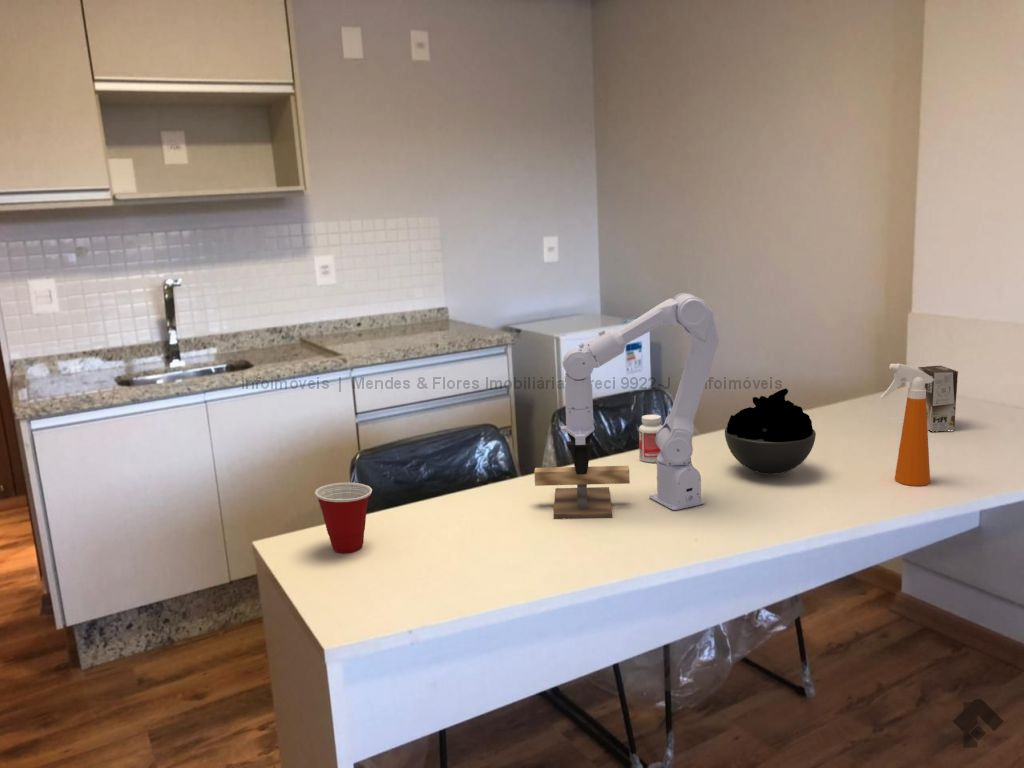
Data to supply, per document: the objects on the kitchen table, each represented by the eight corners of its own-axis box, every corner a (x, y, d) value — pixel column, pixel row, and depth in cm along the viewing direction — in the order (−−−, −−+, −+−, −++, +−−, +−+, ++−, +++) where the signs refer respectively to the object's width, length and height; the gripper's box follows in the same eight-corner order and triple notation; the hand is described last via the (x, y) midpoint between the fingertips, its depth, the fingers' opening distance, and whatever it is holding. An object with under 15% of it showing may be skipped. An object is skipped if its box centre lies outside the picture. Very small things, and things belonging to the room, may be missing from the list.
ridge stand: (612, 517, 168) (611, 494, 167) (553, 518, 169) (552, 495, 168) (609, 491, 184) (608, 469, 183) (555, 492, 185) (554, 471, 184)
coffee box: (955, 431, 215) (959, 371, 212) (930, 432, 215) (934, 372, 212) (938, 422, 224) (941, 364, 221) (914, 423, 224) (917, 365, 221)
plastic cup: (380, 553, 157) (375, 493, 154) (322, 562, 154) (316, 502, 151) (373, 533, 167) (368, 476, 164) (319, 541, 164) (313, 484, 161)
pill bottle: (669, 459, 204) (669, 416, 202) (651, 464, 201) (650, 421, 199) (652, 454, 209) (651, 412, 207) (634, 459, 206) (633, 416, 204)
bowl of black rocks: (758, 491, 179) (759, 407, 175) (708, 466, 197) (707, 390, 193) (833, 478, 185) (836, 396, 181) (778, 455, 203) (779, 380, 200)
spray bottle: (873, 475, 185) (878, 360, 180) (925, 476, 183) (931, 360, 178) (880, 485, 178) (885, 366, 173) (934, 486, 176) (941, 366, 171)
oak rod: (628, 478, 176) (628, 465, 176) (629, 483, 173) (629, 469, 173) (535, 481, 178) (535, 467, 177) (535, 485, 175) (534, 472, 174)
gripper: (560, 399, 180) (563, 458, 182) (559, 415, 165) (562, 479, 168) (593, 397, 179) (595, 457, 182) (594, 414, 165) (596, 478, 168)
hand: (581, 468), depth 175 cm, fingers open, 7 cm apart
